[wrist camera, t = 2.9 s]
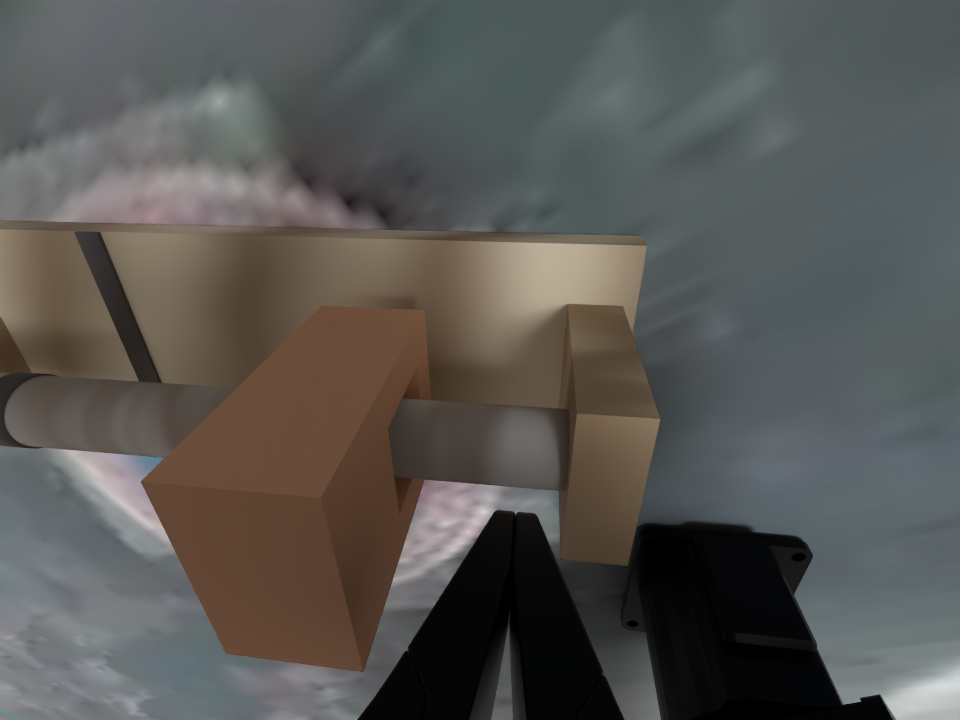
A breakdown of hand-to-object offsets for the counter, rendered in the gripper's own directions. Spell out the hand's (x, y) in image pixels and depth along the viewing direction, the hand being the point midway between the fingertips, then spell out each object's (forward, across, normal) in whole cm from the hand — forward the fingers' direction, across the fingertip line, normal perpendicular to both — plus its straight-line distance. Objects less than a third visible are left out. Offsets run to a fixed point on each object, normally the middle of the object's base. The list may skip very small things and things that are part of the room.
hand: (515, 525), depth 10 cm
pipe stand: (+8, +9, 0) cm, 12 cm away
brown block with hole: (+5, +4, 0) cm, 7 cm away
